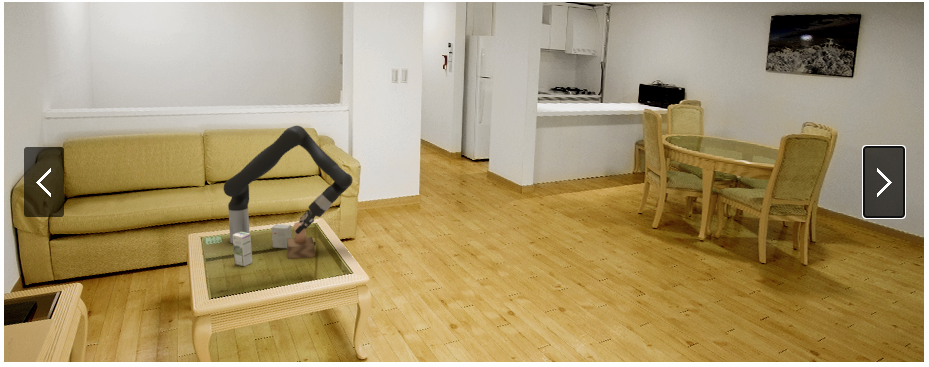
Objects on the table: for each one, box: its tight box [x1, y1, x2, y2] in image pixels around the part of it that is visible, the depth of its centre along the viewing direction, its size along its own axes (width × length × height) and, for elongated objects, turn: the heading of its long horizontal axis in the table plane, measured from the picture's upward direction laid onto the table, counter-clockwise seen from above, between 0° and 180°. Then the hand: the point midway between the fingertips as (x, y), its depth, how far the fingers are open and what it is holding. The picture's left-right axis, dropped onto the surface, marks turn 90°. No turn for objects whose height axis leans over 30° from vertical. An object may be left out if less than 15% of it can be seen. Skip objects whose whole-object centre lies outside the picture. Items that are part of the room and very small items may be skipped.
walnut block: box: [286, 236, 316, 260], centre depth 295 cm, size 12×12×6 cm
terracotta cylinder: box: [293, 221, 307, 243], centre depth 294 cm, size 5×5×9 cm
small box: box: [271, 223, 293, 249], centre depth 304 cm, size 8×6×10 cm
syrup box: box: [232, 232, 253, 267], centre depth 280 cm, size 6×6×14 cm
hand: (296, 230), depth 293 cm, fingers open, 6 cm apart
